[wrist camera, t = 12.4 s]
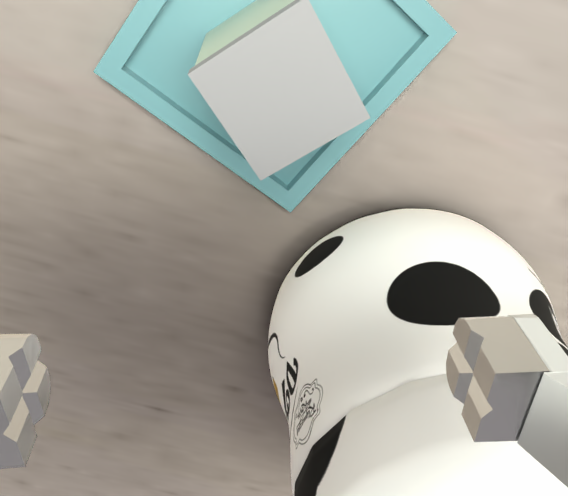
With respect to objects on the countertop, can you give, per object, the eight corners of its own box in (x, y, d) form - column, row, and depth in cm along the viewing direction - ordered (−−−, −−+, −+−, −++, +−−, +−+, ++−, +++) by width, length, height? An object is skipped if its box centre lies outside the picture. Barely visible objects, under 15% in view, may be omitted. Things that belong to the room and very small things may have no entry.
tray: (289, 201, 33) (290, 212, 32) (99, 65, 28) (93, 71, 27) (448, 27, 28) (456, 32, 27) (252, -174, 24) (252, -178, 22)
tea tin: (258, 118, 30) (260, 180, 23) (203, 32, 27) (187, 74, 20) (341, 67, 29) (370, 117, 22) (292, -27, 26) (307, -4, 19)
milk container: (220, 333, 39) (200, 609, 23) (368, 135, 31) (478, 350, 16) (405, 415, 44) (486, 680, 29) (567, 264, 37) (789, 512, 22)
